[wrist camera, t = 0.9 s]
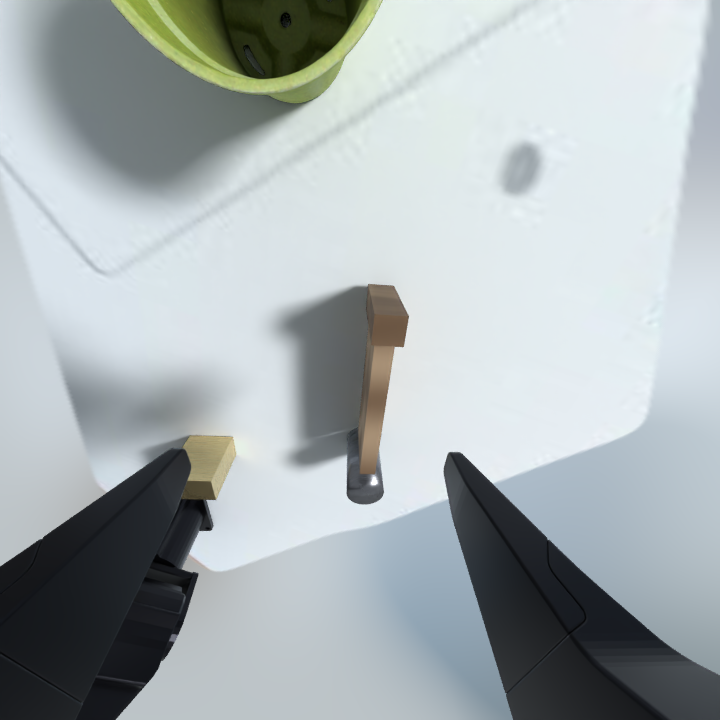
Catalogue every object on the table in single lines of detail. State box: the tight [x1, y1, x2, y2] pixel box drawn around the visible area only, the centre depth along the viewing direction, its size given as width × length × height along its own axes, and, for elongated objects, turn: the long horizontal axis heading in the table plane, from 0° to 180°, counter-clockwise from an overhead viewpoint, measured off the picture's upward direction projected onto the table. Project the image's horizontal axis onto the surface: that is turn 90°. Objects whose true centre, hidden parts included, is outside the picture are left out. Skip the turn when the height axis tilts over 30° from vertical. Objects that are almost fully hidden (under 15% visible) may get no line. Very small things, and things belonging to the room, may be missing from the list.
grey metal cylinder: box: [347, 428, 384, 504], centre depth 26 cm, size 3×3×6 cm
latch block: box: [181, 435, 236, 500], centre depth 26 cm, size 2×4×5 cm, turn 86°
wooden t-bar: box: [358, 284, 409, 474], centre depth 21 cm, size 14×2×6 cm, turn 176°
